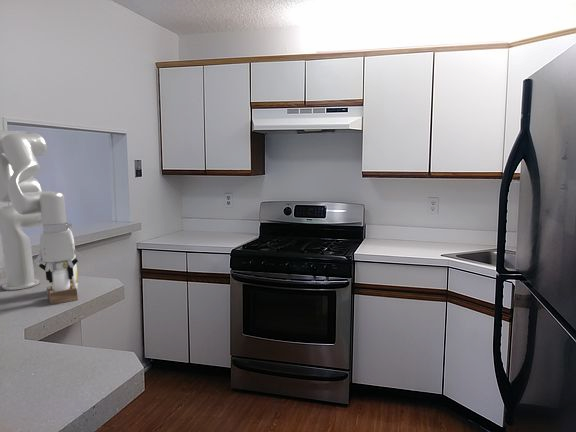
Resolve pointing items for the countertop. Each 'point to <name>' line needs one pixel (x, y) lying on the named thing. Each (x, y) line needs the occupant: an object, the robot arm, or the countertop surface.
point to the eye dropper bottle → (60, 278)
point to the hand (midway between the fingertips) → (60, 279)
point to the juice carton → (65, 265)
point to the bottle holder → (62, 295)
